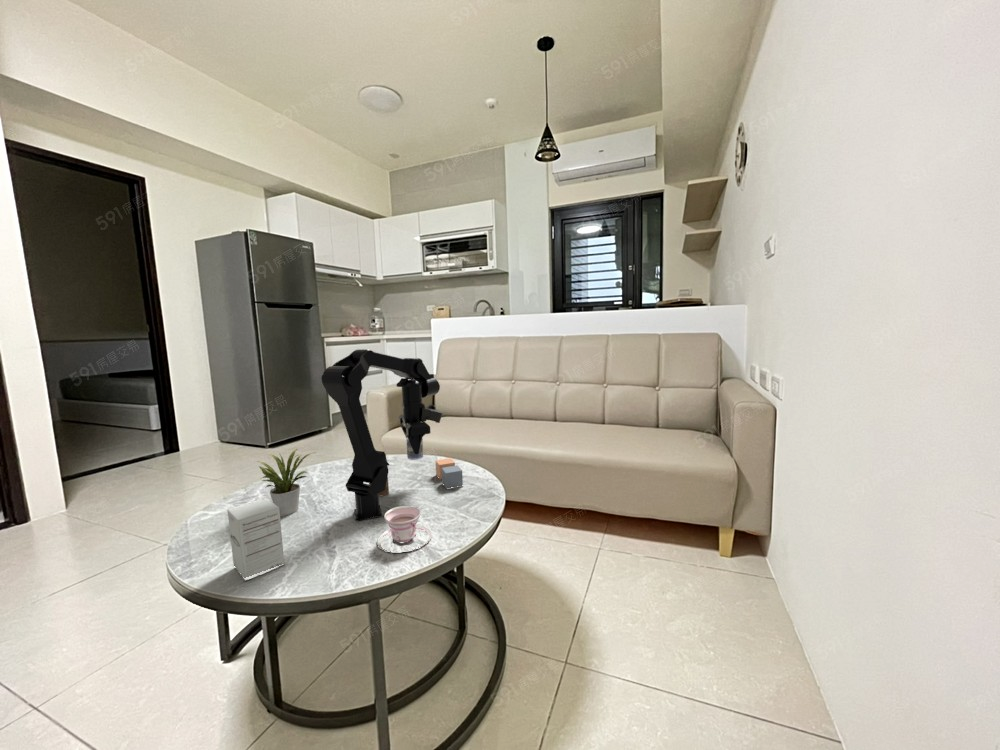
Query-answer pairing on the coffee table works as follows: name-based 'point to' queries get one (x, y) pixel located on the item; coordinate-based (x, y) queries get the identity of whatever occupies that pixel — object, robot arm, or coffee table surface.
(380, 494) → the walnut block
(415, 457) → the pill bottle
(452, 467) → the slate-grey block
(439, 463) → the terracotta block
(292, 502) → the house plant
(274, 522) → the supplement box
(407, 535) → the teacup
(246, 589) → the coffee table surface
